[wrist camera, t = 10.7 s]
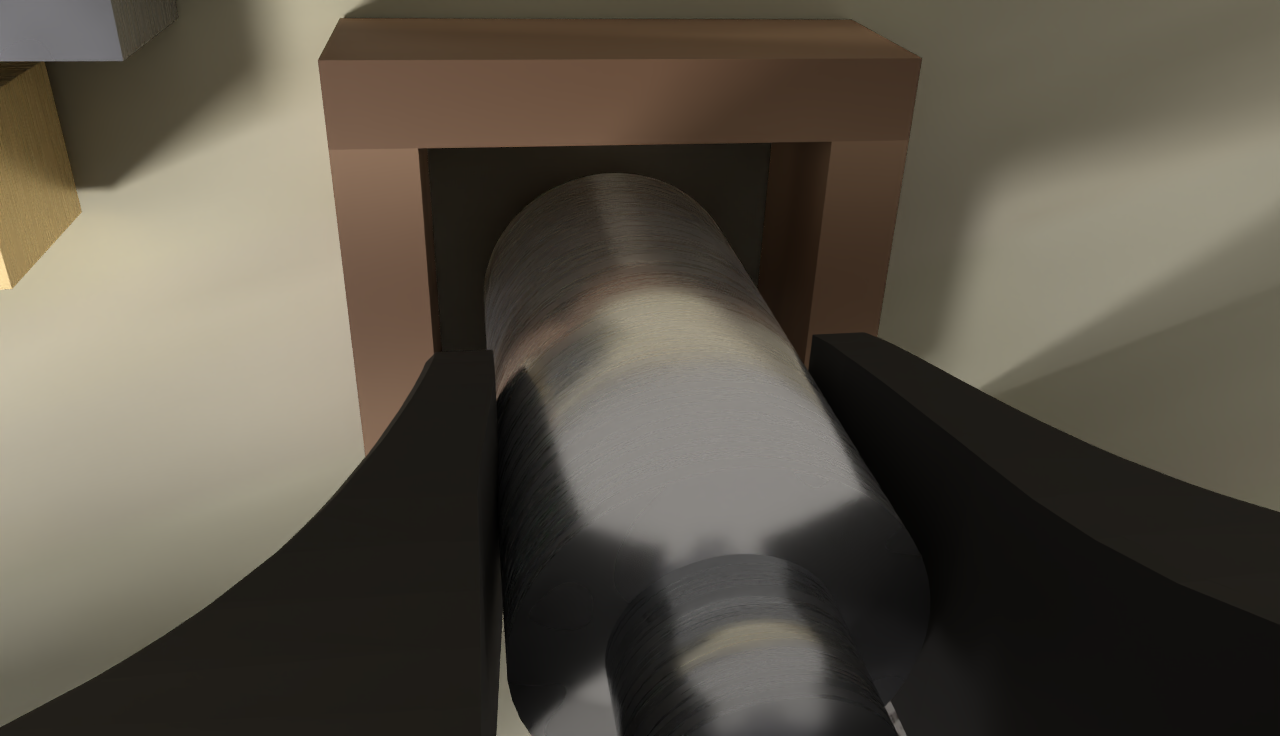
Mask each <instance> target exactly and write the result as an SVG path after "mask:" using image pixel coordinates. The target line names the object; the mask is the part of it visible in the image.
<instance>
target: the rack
mask: <svg viewBox="0 0 1280 736" xmlns="http://www.w3.org/2000/svg"><path fill="white" fill-rule="evenodd" d="M921 61H922V58H920V57H919V56H917V55H915V54H913V53H911V52H910V51H908V50H906V49H904V48H902V47H900V46H899V45H897V44H895V43H893V42H891V41H890V40H888V39H886V38H884V37H882V36H880V35H879V34H877V33H875V32H873V31H871V30H869V29H868V28H866V27H864V26H862V25H860V24H859V23H857V22H855V21H853V20H785V19H429V18H340V19H339V21H338V23H337V25H336V27H335V29H334V31H333V33H332V35H331V36H330V38H329V40H328V42H327V44H326V46H325V48H324V50H323V52H322V54H321V56H320V57H319V59H318V65H319V73H320V81H321V90H322V98H323V106H324V115H325V123H326V131H327V140H328V148H329V156H330V165H331V173H332V181H333V190H334V198H335V206H336V215H337V223H338V231H339V240H340V248H341V256H342V265H343V273H344V281H345V290H346V298H347V306H348V315H349V323H350V332H351V340H352V348H353V357H354V365H355V373H356V382H357V390H358V398H359V407H360V415H361V423H362V432H363V440H364V448H365V457H366V456H367V454H368V453H369V452H370V451H371V449H372V448H373V447H374V445H375V444H376V442H377V441H378V440H379V438H380V437H381V435H382V434H383V432H384V431H385V430H386V428H387V427H388V425H389V424H390V423H391V421H392V420H393V418H394V417H395V415H396V414H397V413H398V411H399V409H400V408H401V406H402V405H403V403H404V401H405V400H406V398H407V397H408V395H409V393H410V392H411V390H412V388H413V387H414V385H415V383H416V381H417V379H418V378H419V376H420V374H421V372H422V370H423V367H424V365H425V363H426V361H428V360H429V359H430V358H431V357H432V356H433V355H434V354H435V353H436V352H442V344H441V330H440V316H439V302H438V288H437V274H436V260H435V246H434V233H433V219H432V205H431V191H430V177H429V163H428V149H427V148H469V147H530V146H591V145H652V144H713V143H771V154H770V164H769V175H768V185H767V196H766V206H765V217H764V227H763V238H762V248H761V259H760V269H759V280H758V291H759V293H760V294H761V296H762V297H763V299H764V301H765V302H766V304H767V306H768V307H769V309H770V310H771V312H772V314H773V315H774V317H775V318H776V320H777V322H778V323H779V325H780V326H781V328H782V330H783V331H784V333H785V335H786V336H787V338H788V339H789V341H790V343H791V344H792V346H793V347H794V349H795V351H796V352H797V354H798V355H799V357H800V359H801V360H802V362H803V363H804V365H805V367H806V368H807V370H808V367H809V359H810V351H811V343H812V335H815V334H836V333H857V332H865V333H868V334H870V335H873V336H875V337H877V334H878V328H879V322H880V316H881V309H882V303H883V297H884V291H885V285H886V278H887V272H888V266H889V260H890V254H891V247H892V241H893V235H894V229H895V223H896V216H897V210H898V204H899V198H900V192H901V185H902V179H903V173H904V167H905V161H906V154H907V148H908V142H909V136H910V130H911V123H912V117H913V111H914V105H915V99H916V92H917V86H918V80H919V74H920V68H921Z"/></svg>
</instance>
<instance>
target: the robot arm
mask: <svg viewBox="0 0 1280 736" xmlns="http://www.w3.org/2000/svg"><path fill="white" fill-rule="evenodd" d="M808 372H809V373H810V375H811V376H812V378H813V380H814V381H815V383H816V384H817V386H818V388H819V389H820V391H821V392H822V394H823V396H824V397H825V399H826V401H827V402H828V404H829V405H830V407H831V409H832V410H833V412H834V413H835V415H836V417H837V418H838V420H839V421H840V423H841V425H842V426H843V428H844V430H845V431H846V433H847V434H848V436H849V438H850V439H851V441H852V442H853V444H854V446H855V447H856V449H857V450H858V452H859V454H860V455H861V457H862V458H863V460H864V462H865V463H866V465H867V467H868V468H869V470H870V471H871V473H872V475H873V476H874V478H875V479H876V481H877V483H878V484H879V486H880V487H881V489H882V491H883V492H884V494H885V496H886V497H887V499H888V500H889V502H890V504H891V505H892V507H893V508H894V510H895V512H896V513H897V515H898V516H899V518H900V520H901V521H902V523H903V525H904V526H905V528H906V529H907V531H908V533H909V534H910V536H911V537H912V539H913V541H914V543H915V545H916V547H917V549H918V550H919V552H920V554H921V556H922V558H923V562H924V565H925V568H926V571H927V575H928V579H929V587H930V596H931V602H930V619H929V623H928V628H927V632H926V637H925V640H924V643H923V646H922V648H921V651H920V653H919V656H918V659H917V661H916V662H915V664H914V666H913V668H912V670H911V672H910V673H909V675H908V677H907V679H906V680H905V682H904V683H903V684H902V686H901V687H900V689H899V690H898V691H897V693H896V694H895V696H894V697H893V698H892V699H891V700H890V701H891V703H892V705H893V707H894V709H895V711H896V713H897V716H898V718H899V720H900V722H901V724H902V727H903V729H904V731H905V733H906V736H1280V512H1277V511H1274V510H1270V509H1267V508H1264V507H1260V506H1257V505H1254V504H1251V503H1247V502H1244V501H1241V500H1237V499H1234V498H1231V497H1227V496H1224V495H1221V494H1218V493H1215V492H1212V491H1209V490H1206V489H1204V488H1201V487H1198V486H1195V485H1192V484H1189V483H1186V482H1183V481H1181V480H1178V479H1175V478H1173V477H1170V476H1168V475H1165V474H1162V473H1160V472H1157V471H1155V470H1152V469H1149V468H1147V467H1144V466H1141V465H1139V464H1136V463H1134V462H1131V461H1128V460H1126V459H1123V458H1121V457H1118V456H1116V455H1114V454H1111V453H1109V452H1106V451H1104V450H1102V449H1099V448H1097V447H1095V446H1092V445H1090V444H1088V443H1086V442H1084V441H1082V440H1079V439H1077V438H1075V437H1073V436H1071V435H1069V434H1067V433H1064V432H1062V431H1060V430H1058V429H1056V428H1054V427H1052V426H1049V425H1047V424H1045V423H1043V422H1041V421H1039V420H1037V419H1035V418H1033V417H1031V416H1029V415H1027V414H1025V413H1023V412H1021V411H1019V410H1017V409H1015V408H1013V407H1011V406H1009V405H1007V404H1005V403H1003V402H1001V401H999V400H997V399H995V398H993V397H991V396H990V395H988V394H986V393H984V392H982V391H980V390H978V389H976V388H974V387H973V386H971V385H969V384H967V383H965V382H963V381H961V380H960V379H958V378H956V377H954V376H952V375H950V374H948V373H947V372H945V371H943V370H941V369H939V368H937V367H935V366H934V365H932V364H930V363H928V362H926V361H924V360H922V359H920V358H919V357H917V356H915V355H913V354H911V353H909V352H907V351H905V350H903V349H901V348H899V347H897V346H895V345H893V344H891V343H889V342H887V341H885V340H882V339H880V338H878V337H875V336H873V335H870V334H868V333H865V332H857V333H836V334H815V335H812V343H811V351H810V359H809V367H808ZM498 462H499V449H498V426H497V403H496V381H495V366H494V356H493V350H474V351H453V352H436V353H435V354H434V355H433V356H432V357H431V358H430V359H429V360H428V361H426V363H425V365H424V367H423V370H422V372H421V374H420V376H419V378H418V379H417V381H416V383H415V385H414V387H413V388H412V390H411V392H410V393H409V395H408V397H407V398H406V400H405V401H404V403H403V405H402V406H401V408H400V409H399V411H398V413H397V414H396V415H395V417H394V418H393V420H392V421H391V423H390V424H389V425H388V427H387V428H386V430H385V431H384V432H383V434H382V435H381V437H380V438H379V440H378V441H377V442H376V444H375V445H374V447H373V448H372V449H371V451H370V452H369V453H368V454H367V456H366V457H365V458H364V459H363V461H362V462H361V463H360V464H359V465H358V467H357V468H356V469H355V470H354V471H353V473H352V474H351V475H350V476H349V477H348V479H347V480H346V481H345V482H344V483H343V485H342V486H341V487H340V488H339V489H338V491H337V492H336V493H335V494H334V495H333V496H332V498H331V499H330V500H329V501H328V502H327V503H326V504H325V505H324V506H323V507H322V508H321V509H320V510H319V511H318V513H317V514H316V515H315V516H314V517H313V518H312V519H311V520H310V521H309V522H308V523H307V524H306V525H305V526H304V527H303V528H302V529H301V530H300V531H299V532H298V533H296V534H295V535H294V536H293V537H292V538H291V539H290V540H289V541H288V542H287V543H286V544H285V545H284V546H283V547H282V548H281V549H280V550H278V551H277V552H276V553H275V554H274V555H273V556H271V557H270V558H269V559H268V560H266V561H265V562H264V563H262V564H261V565H260V566H259V567H257V568H256V569H255V570H253V571H252V572H251V573H250V574H248V575H247V576H246V577H245V578H243V579H242V580H241V581H239V582H238V583H237V584H236V585H234V586H233V587H232V588H230V589H229V590H228V591H227V592H225V593H224V594H223V595H221V596H220V597H219V598H218V599H216V600H215V601H214V602H213V603H211V604H210V605H208V606H207V607H206V608H204V609H203V610H201V611H200V612H198V613H197V614H195V615H194V616H192V617H191V618H189V619H188V620H186V621H185V622H184V623H182V624H181V625H179V626H178V627H176V628H175V629H173V630H172V631H170V632H169V633H167V634H166V635H164V636H163V637H161V638H159V639H158V640H156V641H155V642H153V643H151V644H150V645H148V646H146V647H145V648H143V649H142V650H140V651H138V652H137V653H135V654H134V655H132V656H130V657H129V658H127V659H125V660H124V661H122V662H121V663H119V664H117V665H116V666H114V667H112V668H110V669H109V670H107V671H105V672H103V673H102V674H100V675H98V676H97V677H95V678H93V679H91V680H90V681H88V682H86V683H84V684H82V685H80V686H78V687H76V688H74V689H73V690H71V691H69V692H67V693H65V694H63V695H61V696H59V697H57V698H55V699H54V700H52V701H50V702H48V703H46V704H44V705H42V706H40V707H38V708H36V709H35V710H33V711H31V712H29V713H27V714H25V715H23V716H21V717H19V718H17V719H16V720H14V721H12V722H10V723H8V724H6V725H4V726H2V727H0V736H496V729H497V710H498V691H499V672H500V653H501V634H502V614H503V599H502V583H501V567H500V551H499V535H498V517H497V497H498Z"/></svg>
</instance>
